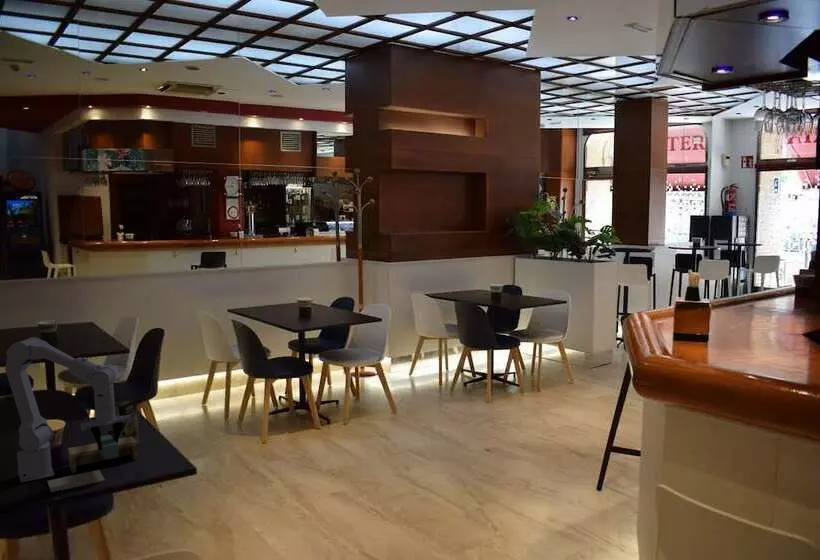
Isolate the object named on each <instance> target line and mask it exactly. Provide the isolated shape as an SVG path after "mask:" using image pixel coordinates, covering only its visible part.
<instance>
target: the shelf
mask: <svg viewBox="0 0 820 560" xmlns="http://www.w3.org/2000/svg"><path fill="white" fill-rule="evenodd" d="M137 445H138V444H137V443H136V441H135V439H134V438H133V437H132V436H131V437H126V438H120V439H118V457H113V458H108V459H104V457H103V456H102V454H101V453H100V451H99V450H98V445H97V442H94V443H90V444H84V445H80V446H79V445H78V446H74V447H68V448H67V454H68V464H69V465H68V466H69V469H70V471H71V473H72V474H75V473H77V466H78V465H79V466H83V465H89V464H92V463H98V462H103V461H108V460H112V459H117V458H123V457H129V456H130V457H131V458H132V460H133V461H137V459H138V448H137Z"/></svg>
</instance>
